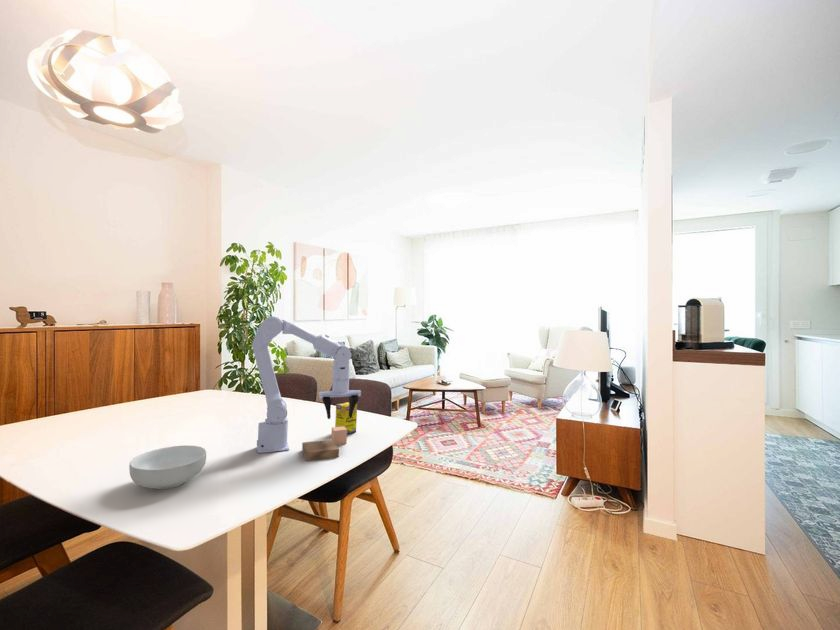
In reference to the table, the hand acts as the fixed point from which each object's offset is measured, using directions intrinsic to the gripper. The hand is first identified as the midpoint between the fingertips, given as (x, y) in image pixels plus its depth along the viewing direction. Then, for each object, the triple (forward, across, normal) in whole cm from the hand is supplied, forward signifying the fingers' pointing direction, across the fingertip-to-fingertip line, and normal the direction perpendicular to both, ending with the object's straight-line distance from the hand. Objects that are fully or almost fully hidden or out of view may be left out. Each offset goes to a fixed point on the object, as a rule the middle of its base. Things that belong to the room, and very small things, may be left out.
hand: (339, 417), depth 134 cm
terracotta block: (+9, 0, 0) cm, 9 cm away
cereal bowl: (+9, -48, -18) cm, 52 cm away
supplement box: (+9, +5, +11) cm, 15 cm away
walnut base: (+9, -8, -9) cm, 15 cm away
